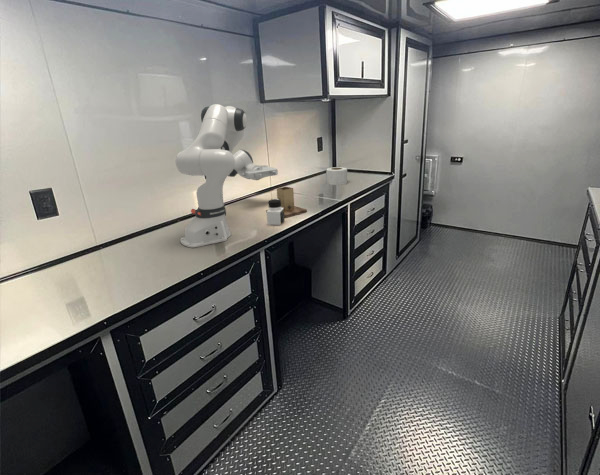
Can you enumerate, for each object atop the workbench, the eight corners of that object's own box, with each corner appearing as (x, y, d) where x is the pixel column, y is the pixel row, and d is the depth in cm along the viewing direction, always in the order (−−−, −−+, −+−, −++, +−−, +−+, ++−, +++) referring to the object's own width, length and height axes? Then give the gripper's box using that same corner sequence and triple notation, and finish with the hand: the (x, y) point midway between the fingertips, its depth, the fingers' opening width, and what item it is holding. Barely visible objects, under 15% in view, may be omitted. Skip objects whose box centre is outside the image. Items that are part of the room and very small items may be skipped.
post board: (283, 218, 179) (282, 199, 175) (266, 212, 191) (264, 195, 187) (306, 212, 188) (306, 194, 185) (288, 206, 200) (288, 190, 197)
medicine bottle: (281, 225, 169) (279, 201, 164) (267, 225, 170) (265, 201, 166) (284, 220, 175) (283, 198, 171) (271, 220, 177) (269, 197, 172)
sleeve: (286, 212, 184) (284, 190, 180) (277, 209, 190) (275, 188, 186) (295, 209, 188) (294, 188, 184) (286, 207, 194) (285, 186, 190)
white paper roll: (332, 186, 248) (331, 171, 245) (323, 182, 262) (322, 168, 258) (350, 183, 254) (351, 168, 250) (341, 180, 267) (341, 166, 263)
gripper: (239, 169, 196) (252, 171, 186) (269, 165, 208) (282, 167, 198) (240, 180, 198) (253, 183, 188) (269, 175, 210) (283, 178, 200)
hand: (268, 174), depth 193 cm, fingers open, 8 cm apart
